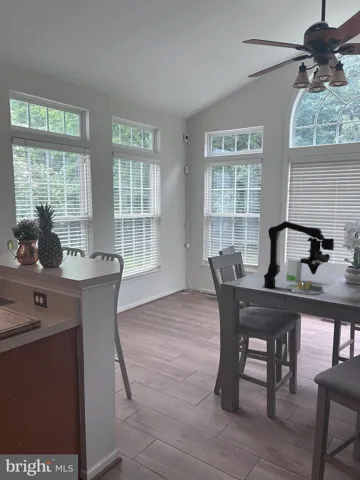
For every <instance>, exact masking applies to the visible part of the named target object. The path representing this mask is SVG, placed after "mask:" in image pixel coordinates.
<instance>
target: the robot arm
mask: <svg viewBox="0 0 360 480" xmlns="http://www.w3.org/2000/svg"><path fill="white" fill-rule="evenodd" d="M285 229H288V230H293V231H296V232H301V233H304V234H306V235H307V236H309V238H308V239H307V242H310V243H309V244H310V245H309V249H308V250H307V251H308V253H309V256H307V257H302V258H300V259H299V260H300V263H302V264H305V265H307V266H308V268H309V270H310V273H311V274H312V275H316V273H317V270H318V268H319V266H321V265H322V264H324V263H328V262H329V260H330V257H331V256H330V254H329V253H325V254H323V251H322V250H326V251H334V249H335V239H334V238H325V236H324V235H323V233H322V232H323V231H322V229H321V228H319V227H313V226H311V227H309V226H304V225H302V224H297V223H293V222H290V221H286V220H285V221H283V222H282V223H279V224H278V225H275V226H274V225H273V226H270V227H269V228H268V238H269V240H270V247H269V249H270V250H269V251H270V252H269V253H270V254H269V257H270V258H269V265H268V268H267V273H265V274H264V275H263V277H264V284H263V285H262V287H263V288H265V289H269V290H270V289H277V288H278V287H277V286H276V277H277V276H278V274H279V273H280V272H281V270H280V269H281V265H280V264H279V263H278V242H279V241H278V240H279V237H280V234H281V233H280V232H282V231H283V230H285ZM321 248H322V250H321Z"/></svg>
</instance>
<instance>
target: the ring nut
mask: <svg viewBox="0 0 360 480" xmlns="http://www.w3.org/2000/svg"><path fill="white" fill-rule="evenodd" d="M302 282H304V280H301V281H300V282H297V288H299V289H305V290H306V289H312V290H318V291H322V290H323V286H322V285H321V286H320V285H314V284H311V282H308V281H307V282H304V283H305V285H302ZM322 292H323V291H322Z"/></svg>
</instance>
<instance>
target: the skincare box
mask: <svg viewBox="0 0 360 480" xmlns="http://www.w3.org/2000/svg"><path fill="white" fill-rule="evenodd" d="M300 260H301V259H298V258H287V264H286V265H287V266H286V277H285V281H288V282H292V283H298V282H300V281H302V280H301V278H302V269H303V263H300Z"/></svg>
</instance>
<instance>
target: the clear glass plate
mask: <svg viewBox="0 0 360 480" xmlns="http://www.w3.org/2000/svg"><path fill="white" fill-rule="evenodd" d="M312 281H313V280H308V281H307V282H311V284H312V283H313V282H312ZM305 283H306V282H304V281H303V282H302V285H305ZM297 284H298V283H297ZM297 284H296V283H295V284H288V285H285V290H286V291H288V292H291V293H295V294H299V295H300V294H301V295H320V294H322V293H323V289H322V291H318V290H312V289H306V290H305V289H299V288H297ZM312 285H313V284H312Z"/></svg>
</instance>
